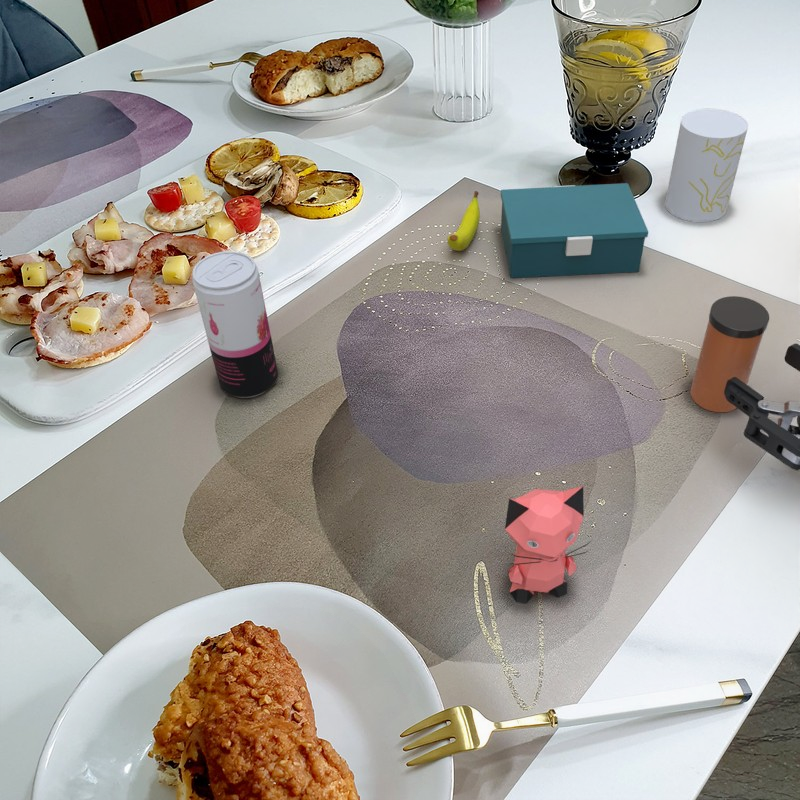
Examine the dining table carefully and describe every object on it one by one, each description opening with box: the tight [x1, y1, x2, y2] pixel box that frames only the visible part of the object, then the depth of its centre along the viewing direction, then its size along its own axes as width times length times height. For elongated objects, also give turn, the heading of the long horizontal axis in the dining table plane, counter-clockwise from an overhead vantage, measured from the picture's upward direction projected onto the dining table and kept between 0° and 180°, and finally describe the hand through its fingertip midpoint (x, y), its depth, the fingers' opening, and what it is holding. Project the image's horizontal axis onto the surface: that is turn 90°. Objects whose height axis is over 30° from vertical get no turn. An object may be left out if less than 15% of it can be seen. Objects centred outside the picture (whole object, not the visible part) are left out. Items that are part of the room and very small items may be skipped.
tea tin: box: [690, 295, 770, 413], centre depth 86 cm, size 5×5×11 cm
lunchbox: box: [500, 182, 649, 279], centre depth 109 cm, size 16×12×6 cm
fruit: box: [446, 190, 481, 252], centre depth 111 cm, size 10×2×5 cm, turn 159°
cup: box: [664, 108, 749, 223], centre depth 113 cm, size 8×8×12 cm
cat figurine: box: [504, 486, 593, 604], centre depth 71 cm, size 7×7×12 cm
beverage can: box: [192, 250, 279, 399], centre depth 90 cm, size 7×7×15 cm
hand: (758, 367), depth 84 cm, fingers open, 8 cm apart
